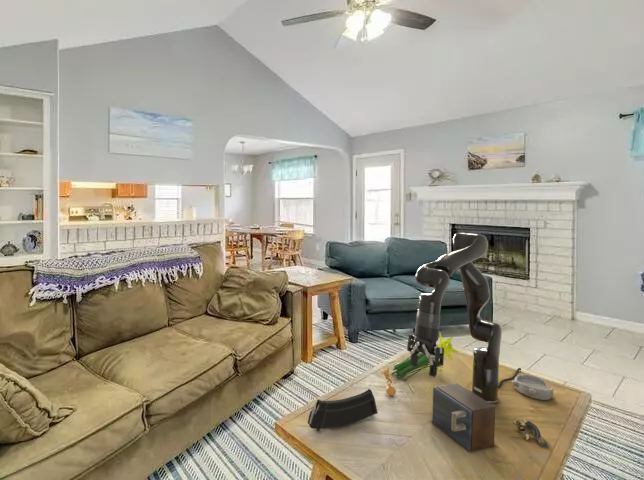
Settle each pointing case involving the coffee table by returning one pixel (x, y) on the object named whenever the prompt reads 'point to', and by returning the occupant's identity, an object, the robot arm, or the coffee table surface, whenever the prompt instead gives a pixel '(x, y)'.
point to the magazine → (342, 411)
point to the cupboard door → (452, 418)
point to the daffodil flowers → (422, 360)
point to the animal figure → (531, 431)
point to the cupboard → (475, 414)
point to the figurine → (389, 389)
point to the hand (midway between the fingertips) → (422, 370)
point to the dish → (532, 387)
